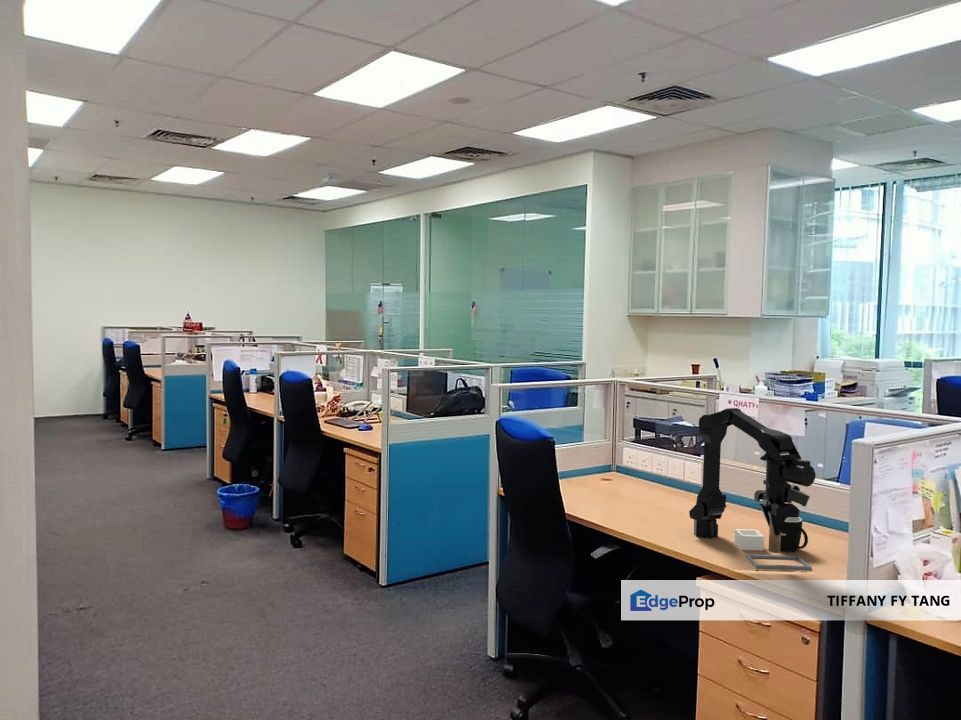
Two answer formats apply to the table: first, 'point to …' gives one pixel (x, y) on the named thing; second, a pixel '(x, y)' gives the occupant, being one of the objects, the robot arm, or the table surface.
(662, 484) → the table surface
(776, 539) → the pin
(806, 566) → the grey rectangular frame
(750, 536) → the white open box
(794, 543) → the mug
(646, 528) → the table surface
